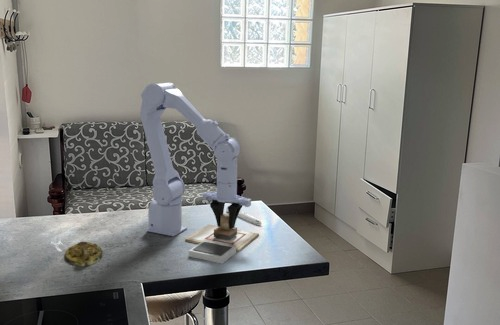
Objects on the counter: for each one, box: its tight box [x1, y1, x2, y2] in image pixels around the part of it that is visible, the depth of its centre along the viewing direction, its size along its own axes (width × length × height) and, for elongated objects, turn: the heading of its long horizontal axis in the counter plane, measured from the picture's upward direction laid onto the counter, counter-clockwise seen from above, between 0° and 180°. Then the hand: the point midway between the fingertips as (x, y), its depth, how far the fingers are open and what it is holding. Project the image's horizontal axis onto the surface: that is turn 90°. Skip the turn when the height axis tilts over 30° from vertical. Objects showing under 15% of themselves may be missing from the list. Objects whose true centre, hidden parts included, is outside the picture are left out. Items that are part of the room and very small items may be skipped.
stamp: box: [214, 213, 238, 240], centre depth 141 cm, size 5×5×6 cm
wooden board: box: [184, 224, 260, 252], centre depth 143 cm, size 17×14×1 cm
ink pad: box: [188, 241, 237, 264], centre depth 131 cm, size 10×8×2 cm
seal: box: [64, 241, 104, 267], centre depth 128 cm, size 9×5×15 cm
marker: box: [226, 206, 262, 226], centre depth 161 cm, size 18×2×2 cm, turn 38°
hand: (226, 226), depth 142 cm, fingers closed on stamp, 3 cm apart
